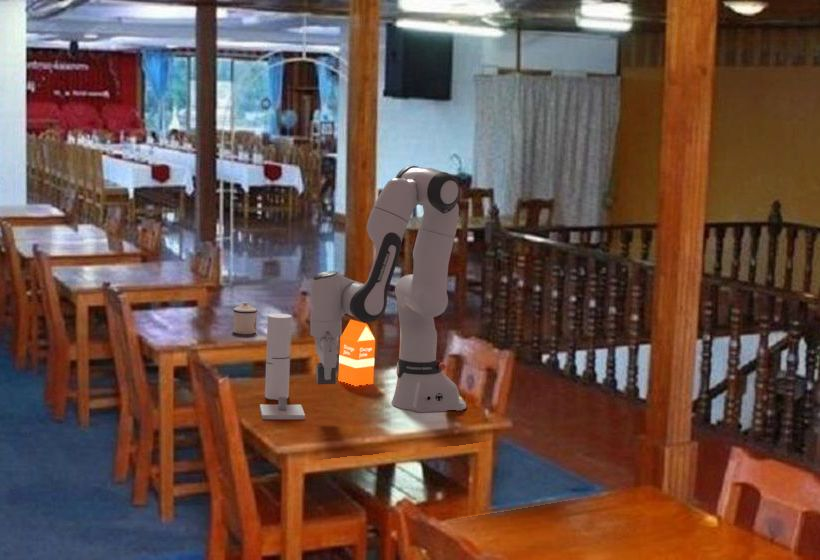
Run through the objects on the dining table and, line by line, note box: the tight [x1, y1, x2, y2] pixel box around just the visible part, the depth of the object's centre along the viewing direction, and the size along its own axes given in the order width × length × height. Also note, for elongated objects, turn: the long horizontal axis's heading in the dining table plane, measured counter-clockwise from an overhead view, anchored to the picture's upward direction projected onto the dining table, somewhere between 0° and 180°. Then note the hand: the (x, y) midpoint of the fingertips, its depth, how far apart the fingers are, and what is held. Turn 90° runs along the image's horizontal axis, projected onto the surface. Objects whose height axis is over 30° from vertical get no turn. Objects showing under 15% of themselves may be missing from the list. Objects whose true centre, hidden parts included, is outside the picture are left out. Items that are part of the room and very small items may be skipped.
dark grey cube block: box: [315, 362, 337, 385], centre depth 342 cm, size 5×5×5 cm
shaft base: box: [259, 397, 306, 420], centre depth 345 cm, size 12×12×5 cm
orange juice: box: [337, 319, 376, 387], centre depth 388 cm, size 8×9×20 cm
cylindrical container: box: [264, 313, 292, 401], centre depth 363 cm, size 7×7×25 cm
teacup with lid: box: [232, 301, 258, 335], centre depth 463 cm, size 12×9×12 cm
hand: (326, 376), depth 343 cm, fingers closed on dark grey cube block, 5 cm apart
